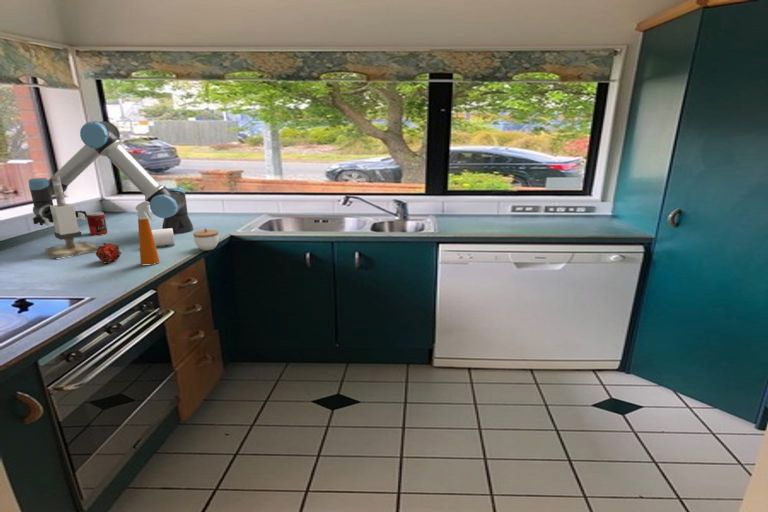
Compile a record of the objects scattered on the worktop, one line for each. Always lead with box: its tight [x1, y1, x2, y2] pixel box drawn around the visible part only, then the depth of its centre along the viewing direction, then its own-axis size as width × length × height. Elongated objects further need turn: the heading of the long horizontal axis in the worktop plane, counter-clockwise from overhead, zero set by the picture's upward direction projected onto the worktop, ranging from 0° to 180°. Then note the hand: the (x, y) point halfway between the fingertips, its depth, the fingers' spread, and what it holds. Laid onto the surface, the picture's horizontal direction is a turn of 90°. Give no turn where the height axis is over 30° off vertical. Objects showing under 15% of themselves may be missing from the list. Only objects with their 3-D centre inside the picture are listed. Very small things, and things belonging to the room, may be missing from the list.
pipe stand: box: [44, 175, 98, 259], centre depth 197 cm, size 16×16×34 cm
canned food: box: [86, 211, 108, 236], centre depth 233 cm, size 8×8×11 cm
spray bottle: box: [135, 200, 160, 265], centre depth 181 cm, size 7×11×26 cm, turn 58°
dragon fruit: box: [95, 242, 122, 263], centre depth 187 cm, size 8×8×12 cm
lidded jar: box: [193, 228, 220, 251], centre depth 206 cm, size 11×11×9 cm
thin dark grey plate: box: [53, 230, 83, 241], centre depth 200 cm, size 8×8×2 cm
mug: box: [151, 228, 176, 247], centre depth 213 cm, size 12×10×8 cm
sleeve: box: [50, 203, 80, 235], centre depth 198 cm, size 7×7×12 cm
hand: (66, 219), depth 196 cm, fingers open, 13 cm apart
